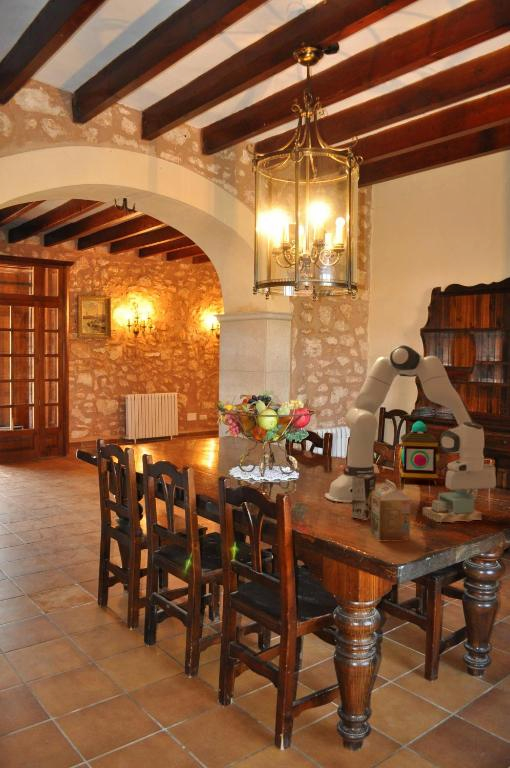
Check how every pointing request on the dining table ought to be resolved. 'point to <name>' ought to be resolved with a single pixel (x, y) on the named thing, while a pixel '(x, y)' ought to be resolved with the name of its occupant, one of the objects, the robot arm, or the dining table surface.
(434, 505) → the jaw block
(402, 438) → the decorative lantern
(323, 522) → the dining table surface
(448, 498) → the cover
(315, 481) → the dining table surface
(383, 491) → the milk carton
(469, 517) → the housing base
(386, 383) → the robot arm
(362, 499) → the coffee box
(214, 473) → the dining table surface
